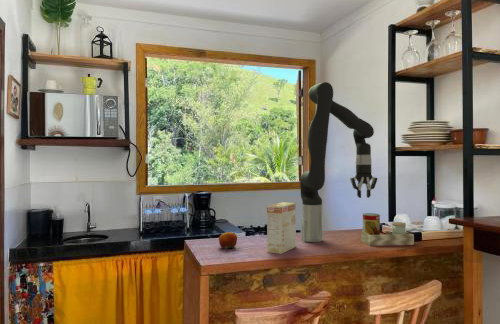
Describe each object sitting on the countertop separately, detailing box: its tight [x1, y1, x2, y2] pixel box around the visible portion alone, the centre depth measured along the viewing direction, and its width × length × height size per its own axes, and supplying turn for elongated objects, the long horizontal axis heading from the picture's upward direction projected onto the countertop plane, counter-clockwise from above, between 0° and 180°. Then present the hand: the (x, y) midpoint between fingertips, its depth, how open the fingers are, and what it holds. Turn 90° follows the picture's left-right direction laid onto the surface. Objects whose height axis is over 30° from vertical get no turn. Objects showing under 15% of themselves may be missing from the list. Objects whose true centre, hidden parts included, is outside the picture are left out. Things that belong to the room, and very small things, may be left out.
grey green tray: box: [361, 230, 415, 247], centre depth 169 cm, size 20×10×4 cm, turn 93°
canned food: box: [362, 212, 381, 235], centre depth 178 cm, size 8×8×12 cm
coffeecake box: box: [266, 201, 297, 255], centre depth 158 cm, size 15×7×20 cm, turn 149°
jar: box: [391, 221, 407, 235], centre depth 170 cm, size 6×6×9 cm
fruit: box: [218, 231, 238, 250], centre depth 161 cm, size 8×8×8 cm
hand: (363, 197), depth 188 cm, fingers open, 3 cm apart
